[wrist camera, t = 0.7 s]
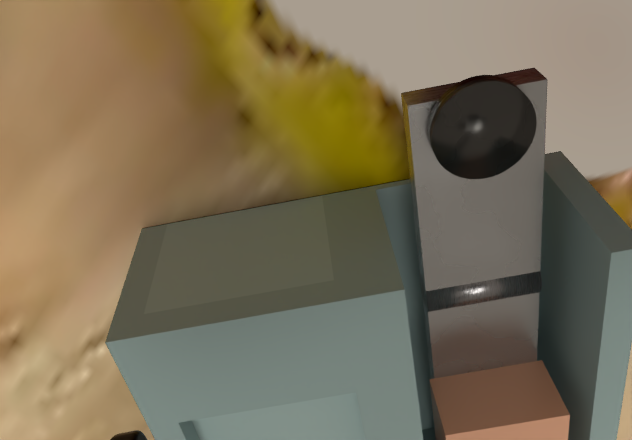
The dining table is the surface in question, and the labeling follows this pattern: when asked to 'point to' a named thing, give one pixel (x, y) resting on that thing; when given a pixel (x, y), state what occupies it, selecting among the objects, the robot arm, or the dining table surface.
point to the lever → (478, 216)
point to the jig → (351, 317)
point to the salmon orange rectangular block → (499, 405)
